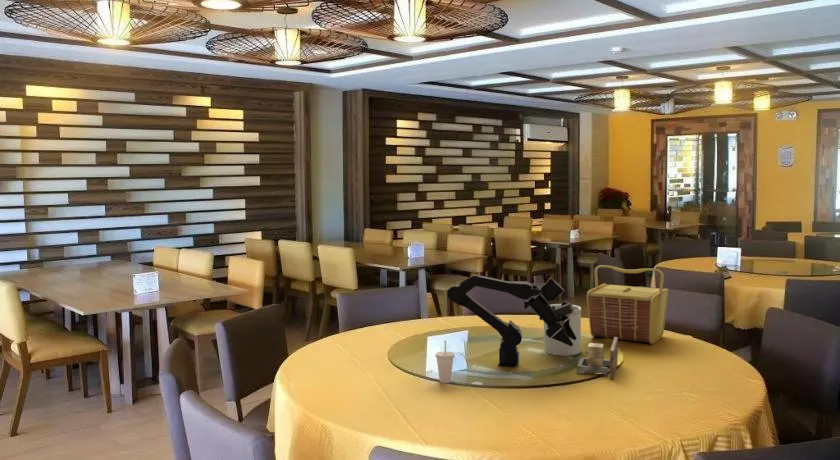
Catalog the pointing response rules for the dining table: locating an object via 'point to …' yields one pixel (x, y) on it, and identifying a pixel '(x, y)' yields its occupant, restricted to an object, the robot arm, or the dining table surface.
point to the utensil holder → (564, 349)
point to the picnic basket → (627, 309)
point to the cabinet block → (595, 354)
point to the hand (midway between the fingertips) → (574, 342)
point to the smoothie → (445, 365)
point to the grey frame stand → (611, 362)
